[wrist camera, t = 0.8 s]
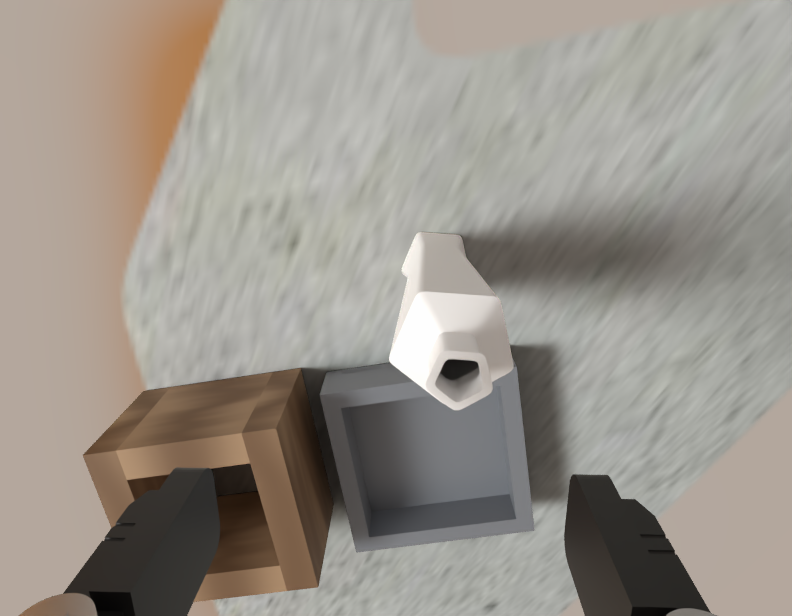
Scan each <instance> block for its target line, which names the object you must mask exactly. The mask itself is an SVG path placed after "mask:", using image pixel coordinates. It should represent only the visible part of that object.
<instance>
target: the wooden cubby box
mask: <svg viewBox="0 0 792 616" xmlns="http://www.w3.org/2000/svg"><path fill="white" fill-rule="evenodd" d="M83 457H84V460H85V462H86V465H87V467H88V470H89V472H90V475H91V477H92V480H93V482H94V485H95V487H96V490H97V492H98V495H99V498H100V500H101V503H102V505H103V508H104V510H105V513H106V515H107V518H108V520H109V523H110V525H111V528H112V527H113V526H115V525H116V522H117V520H118V519H119V518H120V516H121V515H122V514H123V512H124V511H125V510H126V508H127V507H128V506H129V505H130V504H131V503H132V502H134V501H135V500H136V499H138V498H139V497H141V496H142V495H143V494H145V493H146V492H147V491H149V490H159V489H160V488H161V486H162V485H163V483H164V482H165V480H166V479H167V478H168V476H169V475H170V473H171V472H172V471H173V469H175V468H177V467H181V468H210V469H212V468H219V467H227V466H234V465H241V464H249V463H250V465H251V468H252V471H253V475H254V478H255V482H256V485H257V489H258V491H256V492H248V493H240V494H233V495H225V496H218V497H216V498H217V505H218V512H219V520H220V538H219V544H218V548H217V551H216V554H215V556H214V558H213V561H212V563H211V565H210V567H209V569H208V571H207V574H206V576H205V578H204V580H203V582H202V584H201V586H200V589H199V591H198V593H197V595H196V597H195V599H194V602H197V601H206V600H215V599H223V598H231V597H240V596H248V595H257V594H265V593H273V592H282V591H290V590H299V589H307V588H315V587H318V586H319V580H320V575H321V569H322V564H323V559H324V553H325V548H326V543H327V537H328V532H329V526H330V521H331V516H332V510H333V505H334V503H333V499H332V495H331V491H330V487H329V483H328V478H327V474H326V470H325V466H324V462H323V458H322V454H321V449H320V445H319V441H318V437H317V433H316V429H315V424H314V420H313V416H312V412H311V408H310V404H309V400H308V395H307V391H306V387H305V383H304V379H303V375H302V370H301V368H298V369H291V370H284V371H278V372H271V373H264V374H257V375H250V376H243V377H237V378H230V379H223V380H216V381H209V382H202V383H196V384H189V385H182V386H175V387H168V388H162V389H155V390H148V391H143V392H142V393H141V394H140V395H139V396H138V398H137V399H136V400H135V401H134V402H133V403H132V404H131V405H130V406H129V407H128V408H127V409H126V410H125V411H124V412H123V413H122V414H121V415H120V417H119V418H118V419H117V420H116V421H115V422H114V423H113V424H112V425H111V426H110V427H109V428H108V429H107V430H106V431H105V432H104V433H103V435H102V436H101V437H100V438H99V439H98V440H97V441H96V442H95V443H94V444H93V445H92V446H91V447H90V448H89V449H88V450H87V452H85V454H84V455H83Z"/></svg>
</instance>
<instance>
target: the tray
mask: <svg viewBox="0 0 792 616" xmlns="http://www.w3.org/2000/svg"><path fill="white" fill-rule="evenodd" d="M512 359H513V357H512ZM492 385H493V390H492V392H491V393H490V394H489V395H488V396H486V397H484V398H482V399H480V400H478V401H477V402H475V403H473V404H471V405H469V406H467V407H465V408H463V409H461V410H453V409H451V408H449V407H448V406H447V405H446V404H443V403H441V402H440V401H439V400H437V399H436V398H435V397H434V396H432V395H431V394H430V393H428V392H427V391H426V390H424V389H423V388H422V387H421V386H419V385H418V384H417V383H415V382H414V381H413V380H411V379H410V378H409V377H408V376H406V375H405V374H404V373H402V372H401V371H400V370H399V369H397V368H396V367H395V366H393V365H392V364H391V363H385V364H378V365H371V366H364V367H357V368H351V369H344V370H337V371H330V372H327V373H326V376H325V379H324V382H323V386H322V389H321V392H320V399H321V403H322V407H323V412H324V416H325V420H326V424H327V429H328V433H329V437H330V442H331V446H332V450H333V454H334V459H335V463H336V467H337V472H338V476H339V480H340V484H341V489H342V493H343V497H344V502H345V506H346V510H347V514H348V519H349V523H350V527H351V532H352V536H353V540H354V544H355V549H356V552H364V551H372V550H380V549H388V548H396V547H404V546H412V545H421V544H429V543H437V542H445V541H453V540H461V539H469V538H478V537H486V536H494V535H502V534H510V533H518V532H526V531H534V522H533V512H532V503H531V494H530V484H529V475H528V466H527V457H526V447H525V438H524V429H523V419H522V410H521V401H520V392H519V382H518V373H517V366H516V364H515V362H514V359H513V369H512V371H511V372H509V373H508V374H506V375H504V376H502V377H500V378H499V379H497V380H495V381H493V382H492Z"/></svg>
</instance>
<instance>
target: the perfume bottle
mask: <svg viewBox="0 0 792 616" xmlns="http://www.w3.org/2000/svg"><path fill="white" fill-rule="evenodd" d="M402 273H403V274H404V275H405V276H406V277H408V280H407V284H406V288H405V292H404V297H403V301H402V305H401V310H400V314H399V318H398V322H397V327H396V331H395V335H394V340H393V344H392V348H391V352H390V357H389V360H390V363H391V364H392V365H393V366H395V367H396V368H397V369H399V370H400V371H401V372H402V373H404V374H405V375H406V376H408V377H409V378H410V379H411V380H413V381H414V382H415V383H417V384H418V385H419V386H421V387H422V388H423V389H424V390H426V391H427V392H428V393H430V394H431V395H432V396H434V397H435V398H436V399H437V400H439V401H440V402H441V403H443V404H446V405H447V406H448V407H449V408H451V409H453V410H461V409H463V408H465V407H467V406H469V405H471V404H473V403H475V402H477V401H478V400H480V399H482V398H484V397H486V396H488V395H489V394H490V393H491V392H492V390H493V385H492V382H493V381H495V380H497V379H499V378H500V377H502V376H504V375H506V374H508V373H509V372H511V371H512V369H513V359H512V354H511V349H510V344H509V339H508V334H507V329H506V324H505V319H504V314H503V309H502V304H501V301H500V299H499V298H498V297H497V296H496V294H495V293H494V292H493V291H492V289H491V288H490V287H489V286H488V284H487V283H486V282H485V281H484V279H483V278H482V277H481V276H480V274H479V273H478V272H477V271H476V269H475V268H474V267H473V265H472V264H471V263H470V262H469V260H468V259H467V258H466V254H465V249H464V245H463V240H462V237H461V236H460V235H455V234H442V233H428V232H419V233H417V234H416V236H415V238H414V240H413V243H412V245H411V247H410V250H409V252H408V255H407V257H406V259H405V262H404V264H403V266H402Z"/></svg>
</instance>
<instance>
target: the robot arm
mask: <svg viewBox="0 0 792 616" xmlns="http://www.w3.org/2000/svg"><path fill="white" fill-rule="evenodd" d="M219 538H220V520H219V512H218V505H217V498H216V490H215V483H214V476H213V472H212V470H211V469H210V468H181V467H177V468H175V469H173V471H172V472H171V473H170V475H169V476H168V478H167V479H166V480H165V482H164V483H163V485H162V486H161V488H160V489H159V490H149V491H147V492H146V493H145V494H143V495H142V496H141V497H139V498H138V499H136V500H135V501H134V502H132V503H131V504H130V505H129V506H128V507H127V508H126V510H125V511H124V512H123V514H122V515H121V516H120V518H119V519H118V520H117V522H116V525H115V526H113V527H112V528H111V530H110V531H109V532H108V534H107V535H106V537H105V540H104V541H102V542H101V543H100V545H99V546H98V547H97V549H96V550H95V551H94V553H93V554H92V556H91V557H90V558H89V560H88V561H87V562H86V563H85V565H84V566H83V568H82V569H81V570H80V572H79V573H78V574H77V576H76V577H75V578H74V580H73V581H72V582H71V584H70V585H69V586H68V588H67V589H66V590H65V592H64V593H63V594H60V595H56V596H52V597H50V598H47V599H44V600H42V601H40V602H38V603H36V604H35V605H33V606H31V607H30V608H28V609H27V610H25V611H24V612H23V613H22V614H20V615H19V616H187V614H188V612H189V610H190V608H191V606H192V604H193V602H194V599H195V597H196V595H197V593H198V591H199V589H200V586H201V584H202V582H203V580H204V578H205V576H206V574H207V571H208V569H209V567H210V565H211V563H212V561H213V558H214V556H215V554H216V551H217V548H218V544H219ZM564 540H565V552H566V558H567V562H568V565H569V568H570V571H571V574H572V577H573V580H574V583H575V587H576V590H577V593H578V596H579V599H580V602H581V605H582V608H583V611H584V614H585V616H717V615H714V614H712V613H711V612H710V611H709V609H708V607H707V606H706V604H705V602H704V600H703V599H702V597H701V595H700V594H699V592H698V590H697V588H696V587H695V585H694V583H693V581H692V580H691V578H690V576H689V575H688V573H687V571H686V569H685V568H684V566H683V564H682V563H681V561H680V559H679V557H678V556H677V555H675V550H674V549H673V547H672V545H671V543H670V542H669V540H668V539H666V537H665V533H664V531H663V530H662V528H661V526H660V524H659V523H658V521H657V519H656V518H655V516H654V515H653V514H652V513H651V512H649V511H648V510H647V509H646V508H645V507H643V506H642V505H641V504H640V503H639V502H638V501H636V500H635V499H621V498H620V496H619V494H618V492H617V490H616V488H615V486H614V484H613V482H612V480H611V479H610V477H609V476H608V475H572V476H571V479H570V485H569V494H568V504H567V513H566V523H565V534H564Z"/></svg>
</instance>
